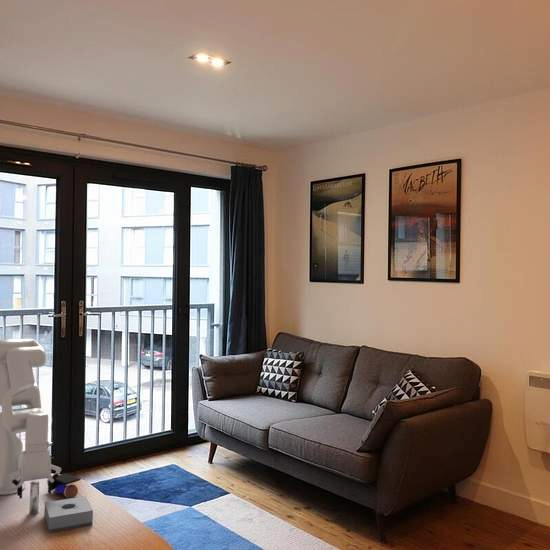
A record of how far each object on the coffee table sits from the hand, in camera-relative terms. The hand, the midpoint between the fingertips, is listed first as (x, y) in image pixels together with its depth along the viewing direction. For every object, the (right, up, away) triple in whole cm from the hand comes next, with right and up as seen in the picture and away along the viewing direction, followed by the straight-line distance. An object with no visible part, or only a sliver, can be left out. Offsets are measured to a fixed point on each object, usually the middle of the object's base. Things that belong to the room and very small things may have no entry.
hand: (35, 495), depth 197 cm
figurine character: (+3, -7, +18) cm, 20 cm away
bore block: (+14, -7, -5) cm, 16 cm away
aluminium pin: (-1, -7, 0) cm, 7 cm away
